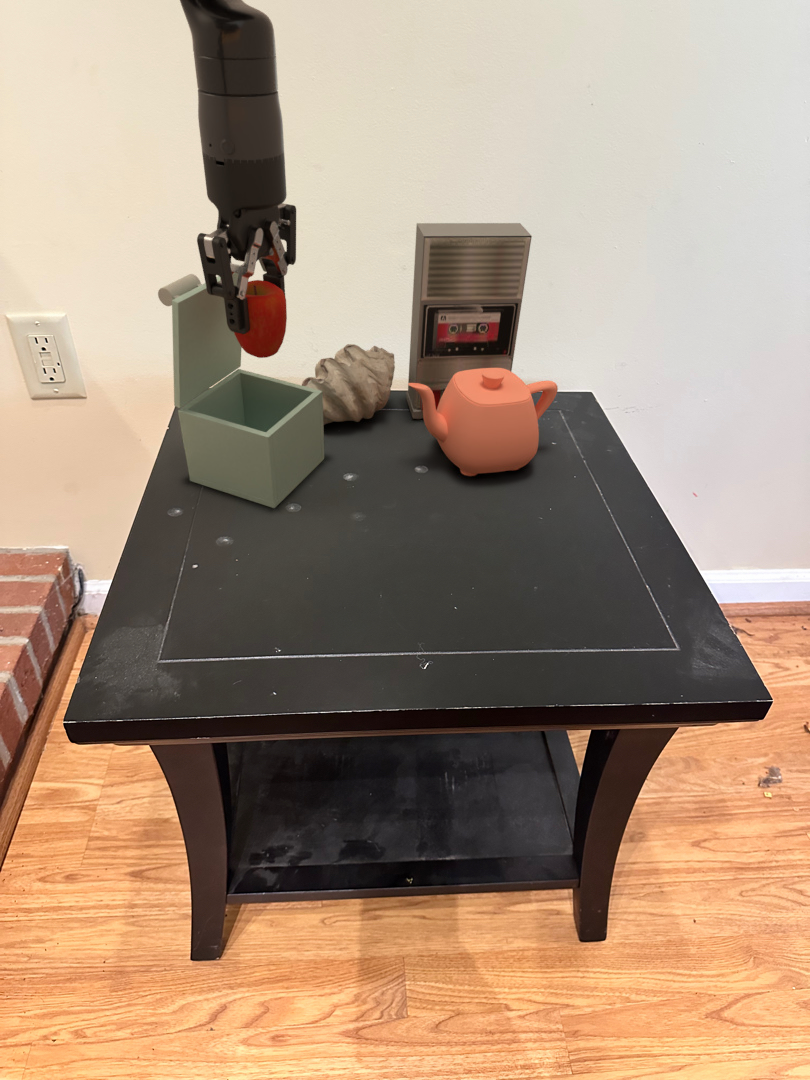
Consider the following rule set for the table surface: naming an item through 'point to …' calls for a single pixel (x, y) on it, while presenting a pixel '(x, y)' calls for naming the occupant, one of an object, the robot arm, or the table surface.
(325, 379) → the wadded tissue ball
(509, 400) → the teapot
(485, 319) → the cassette tape recorder
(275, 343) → the apple
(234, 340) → the lid
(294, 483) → the pale green hollow box
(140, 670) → the table surface
